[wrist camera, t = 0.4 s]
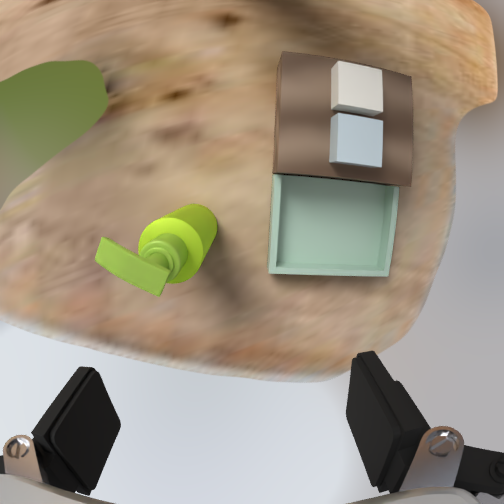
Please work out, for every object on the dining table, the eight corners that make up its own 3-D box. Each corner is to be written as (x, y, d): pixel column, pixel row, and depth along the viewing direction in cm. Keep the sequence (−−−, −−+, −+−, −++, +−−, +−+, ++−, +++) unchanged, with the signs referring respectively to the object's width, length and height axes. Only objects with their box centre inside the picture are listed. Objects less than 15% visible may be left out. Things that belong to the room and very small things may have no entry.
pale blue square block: (330, 117, 29) (338, 112, 27) (372, 124, 30) (383, 120, 27) (329, 162, 31) (336, 161, 28) (371, 167, 31) (381, 167, 28)
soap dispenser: (176, 192, 37) (108, 210, 18) (225, 216, 38) (203, 257, 18) (158, 233, 38) (84, 286, 19) (205, 256, 39) (169, 331, 20)
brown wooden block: (277, 69, 33) (282, 51, 27) (390, 87, 34) (411, 76, 28) (272, 172, 37) (277, 172, 31) (389, 184, 37) (410, 186, 31)
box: (272, 174, 37) (274, 174, 34) (389, 186, 37) (399, 187, 34) (267, 266, 40) (268, 273, 37) (379, 269, 40) (388, 276, 37)
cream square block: (331, 68, 28) (338, 60, 25) (372, 76, 28) (381, 70, 25) (330, 109, 29) (338, 103, 26) (372, 116, 29) (383, 111, 27)
